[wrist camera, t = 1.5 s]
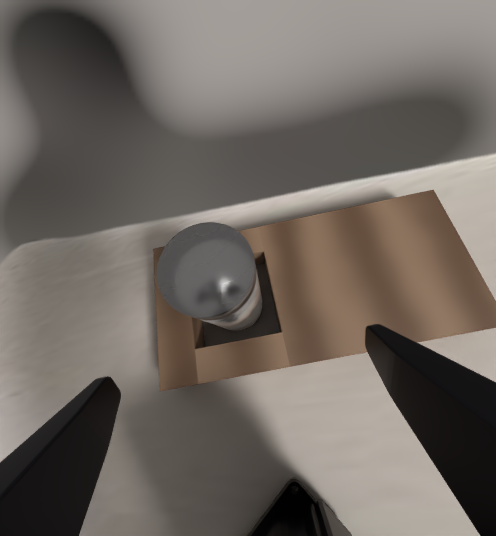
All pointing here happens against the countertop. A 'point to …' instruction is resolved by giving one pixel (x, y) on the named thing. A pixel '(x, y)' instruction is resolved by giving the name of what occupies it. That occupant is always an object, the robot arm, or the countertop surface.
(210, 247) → the silver cylindrical piece
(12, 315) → the countertop surface
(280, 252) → the plate
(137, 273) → the countertop surface
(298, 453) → the countertop surface
